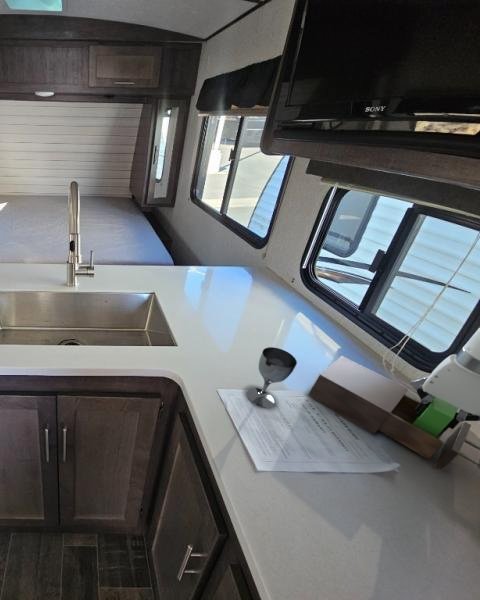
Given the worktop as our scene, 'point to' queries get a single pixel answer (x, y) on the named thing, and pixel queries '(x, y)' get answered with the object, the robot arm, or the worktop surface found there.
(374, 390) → the cabinet
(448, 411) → the green rectangular prism
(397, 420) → the drawer
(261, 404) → the wine glass
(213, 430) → the worktop surface
